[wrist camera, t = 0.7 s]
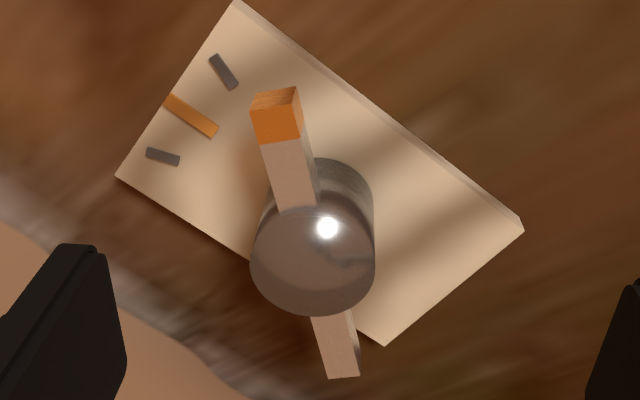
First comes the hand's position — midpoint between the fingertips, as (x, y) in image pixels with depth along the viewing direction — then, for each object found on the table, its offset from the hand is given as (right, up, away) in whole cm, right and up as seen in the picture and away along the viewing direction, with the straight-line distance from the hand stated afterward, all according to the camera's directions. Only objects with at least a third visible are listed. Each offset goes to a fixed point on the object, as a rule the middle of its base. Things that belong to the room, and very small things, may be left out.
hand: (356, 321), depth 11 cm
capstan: (-1, +2, +22) cm, 22 cm away
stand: (-1, +3, +24) cm, 24 cm away
